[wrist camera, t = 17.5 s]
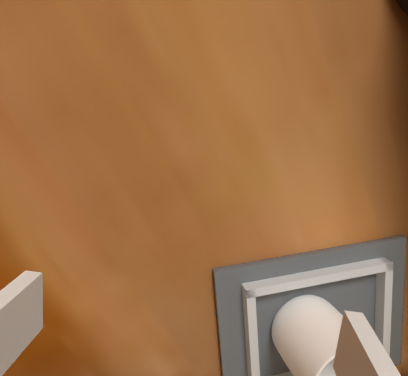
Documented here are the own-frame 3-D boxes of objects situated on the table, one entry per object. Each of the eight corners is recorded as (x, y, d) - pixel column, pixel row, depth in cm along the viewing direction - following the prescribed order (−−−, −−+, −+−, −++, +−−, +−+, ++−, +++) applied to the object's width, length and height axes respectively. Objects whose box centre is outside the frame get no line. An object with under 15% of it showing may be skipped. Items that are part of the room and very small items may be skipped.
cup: (282, 286, 42) (330, 340, 33) (368, 304, 46) (433, 358, 36) (259, 349, 44) (298, 419, 34) (344, 362, 47) (401, 430, 37)
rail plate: (402, 235, 45) (416, 242, 43) (396, 360, 50) (409, 372, 47) (212, 268, 41) (217, 278, 39) (224, 402, 45) (229, 418, 43)
